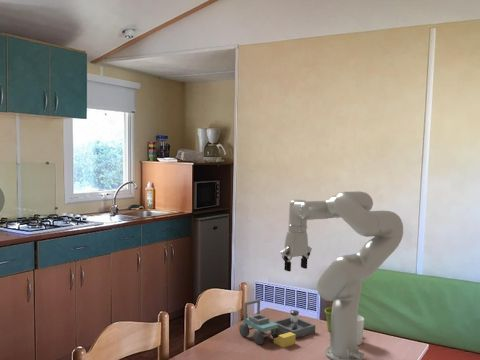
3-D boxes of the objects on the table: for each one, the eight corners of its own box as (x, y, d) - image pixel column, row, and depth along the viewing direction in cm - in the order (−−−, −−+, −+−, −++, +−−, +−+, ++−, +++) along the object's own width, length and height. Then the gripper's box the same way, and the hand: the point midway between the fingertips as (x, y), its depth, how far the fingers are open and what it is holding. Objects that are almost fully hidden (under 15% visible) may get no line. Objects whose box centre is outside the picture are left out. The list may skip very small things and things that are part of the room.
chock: (295, 344, 177) (295, 334, 177) (283, 348, 173) (283, 337, 173) (285, 339, 182) (285, 329, 182) (273, 343, 178) (274, 333, 178)
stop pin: (299, 329, 191) (300, 312, 191) (293, 331, 189) (294, 313, 189) (293, 326, 194) (294, 309, 194) (287, 328, 192) (288, 311, 191)
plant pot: (319, 330, 193) (320, 310, 192) (331, 325, 199) (332, 305, 199) (338, 337, 186) (339, 316, 186) (350, 331, 193) (351, 311, 192)
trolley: (281, 340, 180) (282, 307, 179) (261, 346, 174) (262, 311, 173) (258, 329, 191) (259, 298, 190) (239, 334, 185) (240, 302, 184)
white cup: (339, 339, 183) (340, 315, 183) (354, 337, 187) (355, 313, 186) (351, 347, 176) (352, 322, 176) (367, 344, 179) (368, 319, 179)
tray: (315, 332, 190) (315, 325, 190) (293, 338, 182) (293, 331, 182) (293, 322, 200) (293, 316, 200) (271, 328, 192) (271, 321, 192)
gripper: (305, 226, 198) (303, 265, 198) (276, 229, 187) (274, 270, 188) (318, 229, 192) (316, 268, 192) (289, 231, 181) (287, 273, 182)
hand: (295, 269), depth 190 cm, fingers open, 9 cm apart
